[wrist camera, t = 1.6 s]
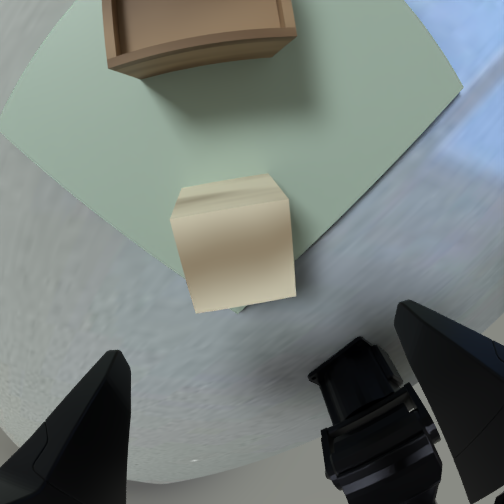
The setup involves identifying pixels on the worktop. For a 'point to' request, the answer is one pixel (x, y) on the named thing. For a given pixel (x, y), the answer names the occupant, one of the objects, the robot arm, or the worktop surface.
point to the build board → (232, 117)
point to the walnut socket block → (192, 33)
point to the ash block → (235, 242)
